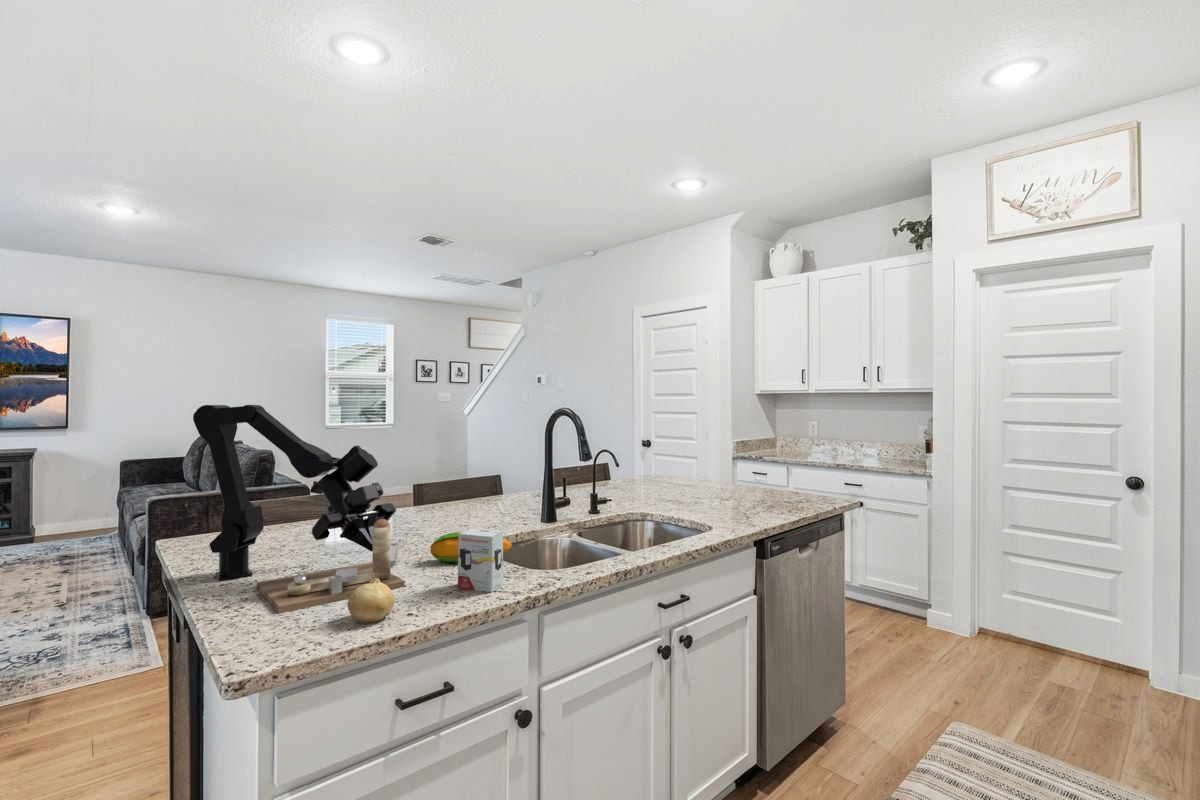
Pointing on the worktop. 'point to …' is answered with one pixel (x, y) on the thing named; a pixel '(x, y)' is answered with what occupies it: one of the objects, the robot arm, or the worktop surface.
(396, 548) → the adjustable wrench
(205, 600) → the worktop surface
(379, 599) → the onion
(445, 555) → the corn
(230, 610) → the worktop surface
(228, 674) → the worktop surface
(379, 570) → the wooden crank lever
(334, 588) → the keeper
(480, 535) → the ink box
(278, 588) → the walnut board
